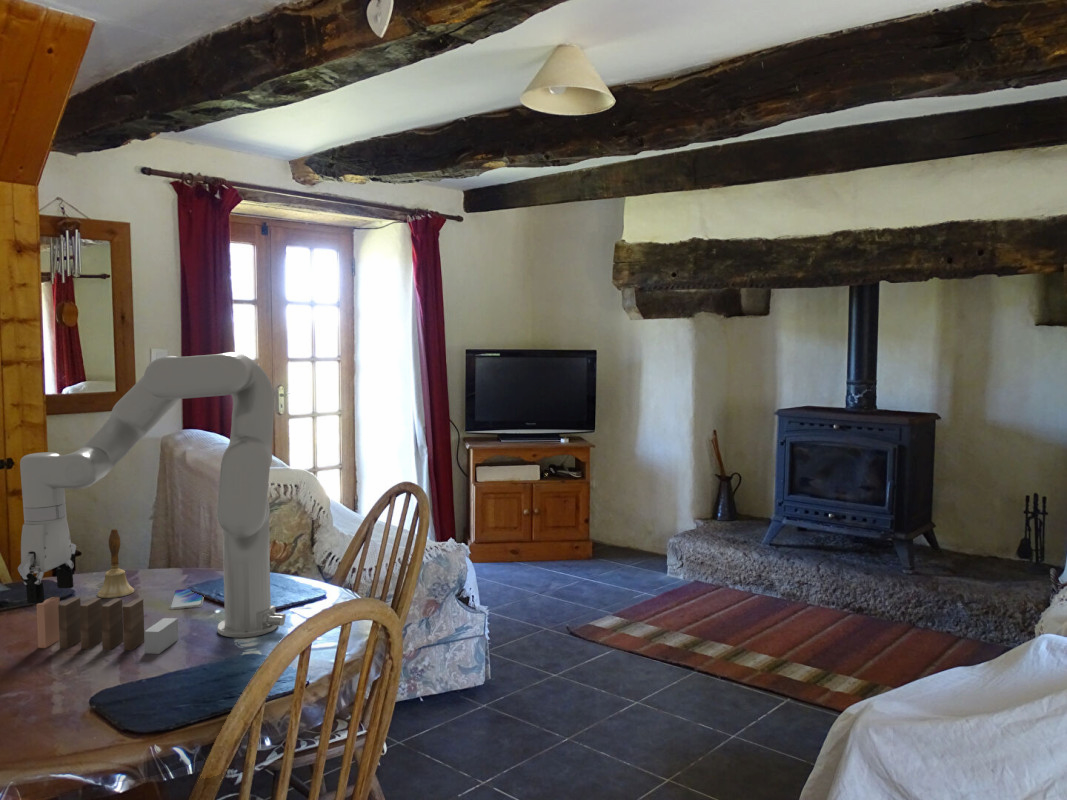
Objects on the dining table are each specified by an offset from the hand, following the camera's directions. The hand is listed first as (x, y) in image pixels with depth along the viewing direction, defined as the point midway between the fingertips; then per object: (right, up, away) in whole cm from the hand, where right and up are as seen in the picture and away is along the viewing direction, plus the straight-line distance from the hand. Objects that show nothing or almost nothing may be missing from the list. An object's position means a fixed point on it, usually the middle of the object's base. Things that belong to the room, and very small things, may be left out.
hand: (51, 595), depth 175 cm
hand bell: (-4, -8, +35) cm, 36 cm away
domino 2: (+4, -10, 0) cm, 11 cm away
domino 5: (+17, -10, 0) cm, 20 cm away
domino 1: (-1, -10, +1) cm, 10 cm away
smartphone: (+16, -8, +30) cm, 35 cm away
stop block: (+23, -10, -1) cm, 25 cm away
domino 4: (+13, -10, 0) cm, 16 cm away
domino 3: (+8, -10, 0) cm, 13 cm away
